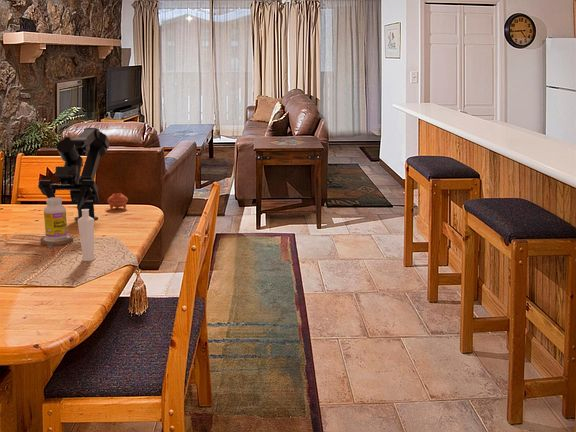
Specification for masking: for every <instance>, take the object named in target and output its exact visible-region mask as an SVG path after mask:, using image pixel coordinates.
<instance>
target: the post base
mask: <svg viewBox="0 0 576 432" xmlns="http://www.w3.org/2000/svg"><path fill="white" fill-rule="evenodd" d="M71 242H72V243H73V242H74V236H73V235H71V234H67V237H66V238H64V239H59V240H50V239H47V238H46V235H45V236H42V237H41V238H40V239H39V243H40V245H41V246H45V247H47V248H49V249H50V248H53V247H59V246H66V245H69V243H70V244H72V243H71Z"/></svg>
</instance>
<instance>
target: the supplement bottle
mask: <svg viewBox="0 0 576 432" xmlns="http://www.w3.org/2000/svg"><path fill="white" fill-rule="evenodd" d="M45 200H46V206H45V207H44V208H43V216H44V217H43V219H44V228H45V232H44V233H45V236H46V238H47V239H50V240H59V239H64V238H66V237H67V235H68V223H67V221H68V220H67V209H66V206H64V205H63V204H62V203H63V198H62V197H58V196H57V197H56V196H55V197H53V198H47V197H46V199H45Z"/></svg>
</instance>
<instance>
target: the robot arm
mask: <svg viewBox="0 0 576 432" xmlns="http://www.w3.org/2000/svg"><path fill="white" fill-rule="evenodd" d="M83 129H84V130H83V131H82V132H81V133H80V134H79V135H77V137H73V138H71V136H64V139H61V140H60V141H59V142H57V144H56V149H57V152H58V154H59V155H60V158H61V160H62V161H64V164H63V165H62V166H55V171H54V177H56V178H57V181H58V182H60V183H54V181H53V180H52V179H40V181H39V182H38V183H37V184H38V185H37V187H38V189H39V190H40V192H41V194H42V195H44V196H46V199H47V198H53V197H56V193H57V192H56V191H69V196H70V199H71V204H73V205H74V204H76V209H77V216H76V217H75V216H74V219H75V220H77V221H78V219H79V218H81V217H82V211H81V210H82V209H89V216H90V217H91V218H93V219H94V221H95V220H98V219H99V216H98V217H97V216H96V215H95V204H99V202H100V198H99V197H100V196H99V193H98V192H99V187H98V185H97V183H96V180H95V177H96V173H97V170H98V167H99V162H100V160H101V158H102V157H103V156H105V155H106V153H107V152H108V149H109V148H110V139H109V137H108V136H107V134H105V133H103V132H102V131H100V129H99V128H97V127H85V128H83ZM83 156H86V157H85V161H84V160H83ZM82 167H83V168H82Z"/></svg>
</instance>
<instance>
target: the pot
mask: <svg viewBox="0 0 576 432" xmlns="http://www.w3.org/2000/svg"><path fill="white" fill-rule="evenodd" d="M128 201H129V199H128V197H127V196H125V195H124V194H123V193H121V192H118V193H112V195H111V196H109V197H108V198H107V204H109V207H110V210H113V208H121V207H123V210H126V207H127V203H128Z"/></svg>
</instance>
